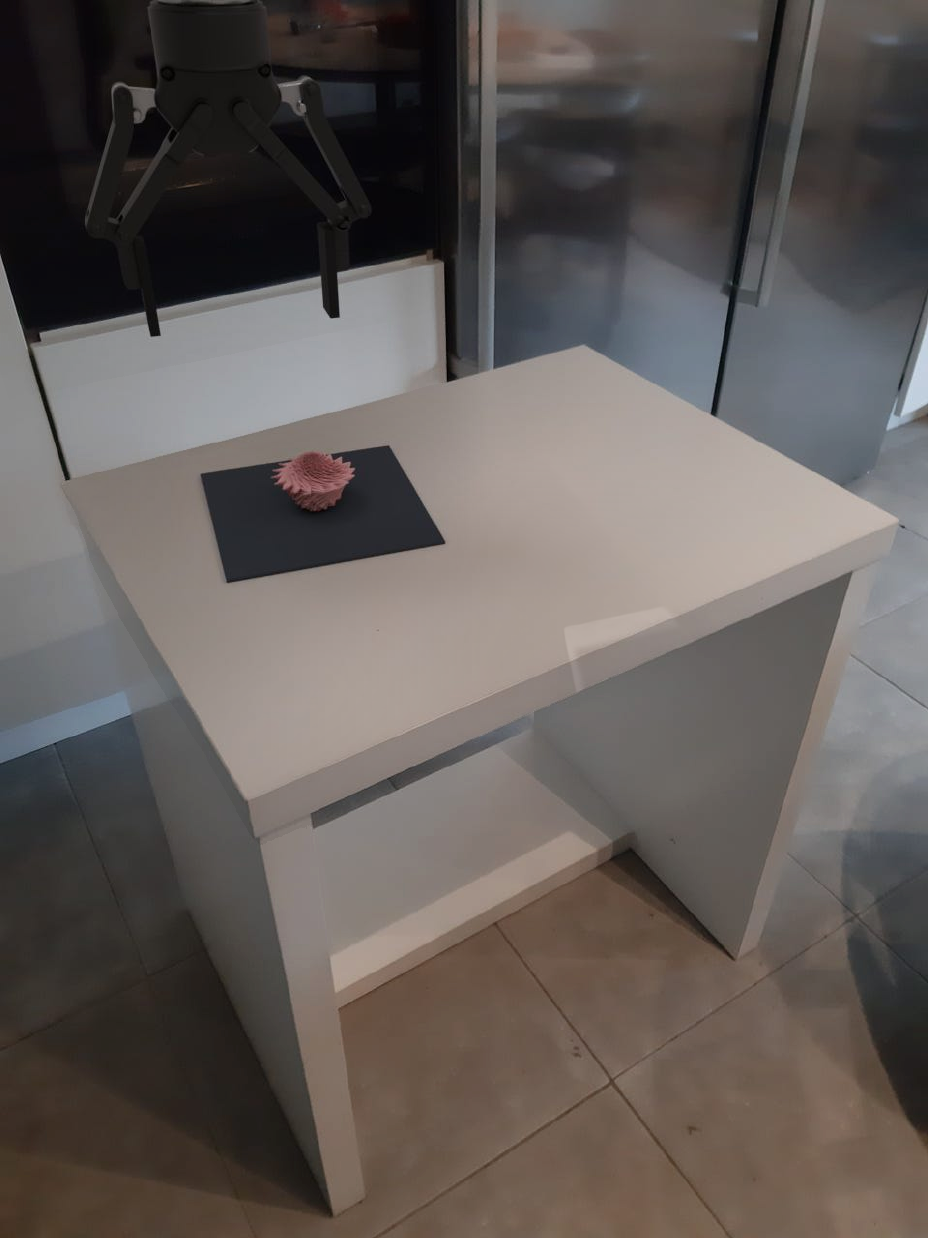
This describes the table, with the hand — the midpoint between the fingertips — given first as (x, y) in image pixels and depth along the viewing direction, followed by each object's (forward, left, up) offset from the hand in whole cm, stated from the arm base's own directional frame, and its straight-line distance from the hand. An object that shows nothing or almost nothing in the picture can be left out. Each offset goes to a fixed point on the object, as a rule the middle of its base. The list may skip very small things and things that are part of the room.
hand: (245, 321), depth 76 cm
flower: (+5, +7, -22) cm, 23 cm away
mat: (+5, +7, -22) cm, 23 cm away
